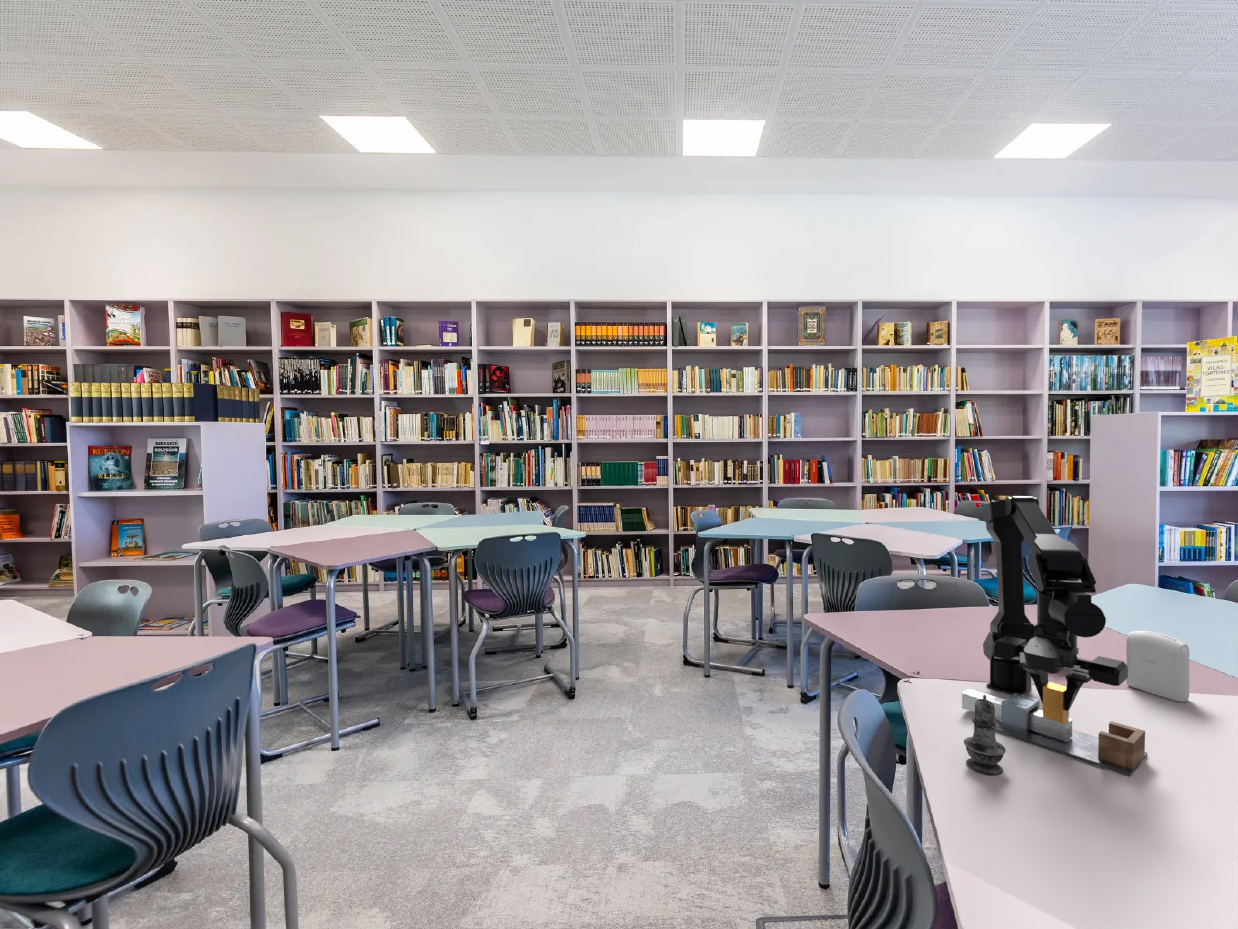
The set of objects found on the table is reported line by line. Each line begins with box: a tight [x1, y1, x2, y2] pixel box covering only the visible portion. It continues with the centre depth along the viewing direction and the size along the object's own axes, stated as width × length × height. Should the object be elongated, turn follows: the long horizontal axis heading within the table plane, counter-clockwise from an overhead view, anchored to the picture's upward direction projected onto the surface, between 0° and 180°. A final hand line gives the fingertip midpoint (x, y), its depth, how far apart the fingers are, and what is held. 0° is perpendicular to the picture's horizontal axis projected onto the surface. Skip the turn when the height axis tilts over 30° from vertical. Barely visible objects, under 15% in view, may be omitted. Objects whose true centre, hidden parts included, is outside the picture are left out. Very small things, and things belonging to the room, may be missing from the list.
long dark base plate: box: [995, 693, 1148, 778], centre depth 107 cm, size 20×10×5 cm, turn 38°
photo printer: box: [1125, 630, 1190, 703], centre depth 127 cm, size 10×4×12 cm, turn 20°
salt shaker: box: [963, 693, 1007, 777], centre depth 100 cm, size 6×6×12 cm
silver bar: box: [961, 681, 1073, 741], centre depth 114 cm, size 17×3×8 cm, turn 38°
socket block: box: [1098, 720, 1146, 769], centre depth 101 cm, size 4×7×4 cm
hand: (1055, 707), depth 108 cm, fingers closed on silver bar, 3 cm apart
